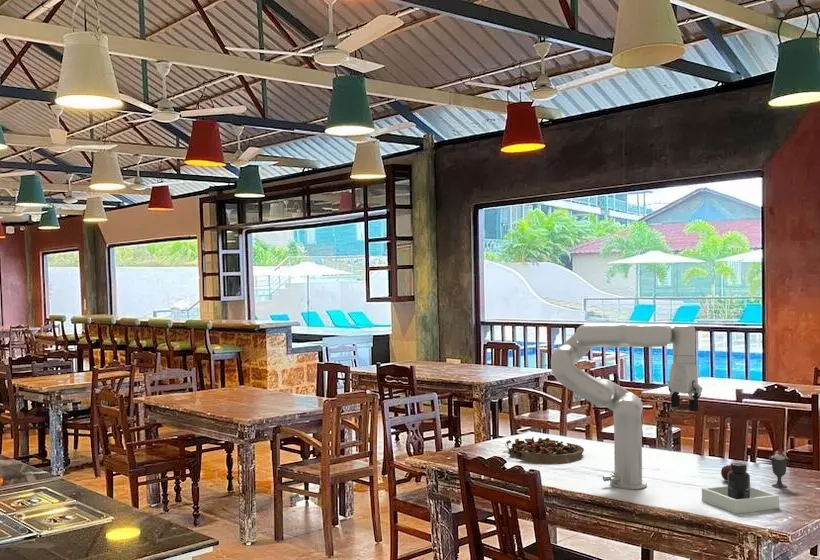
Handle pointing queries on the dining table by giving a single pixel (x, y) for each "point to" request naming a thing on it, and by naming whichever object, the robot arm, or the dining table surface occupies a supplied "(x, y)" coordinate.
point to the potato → (725, 472)
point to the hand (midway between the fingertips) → (684, 408)
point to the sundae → (779, 466)
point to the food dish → (545, 451)
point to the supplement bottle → (738, 481)
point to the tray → (754, 503)
